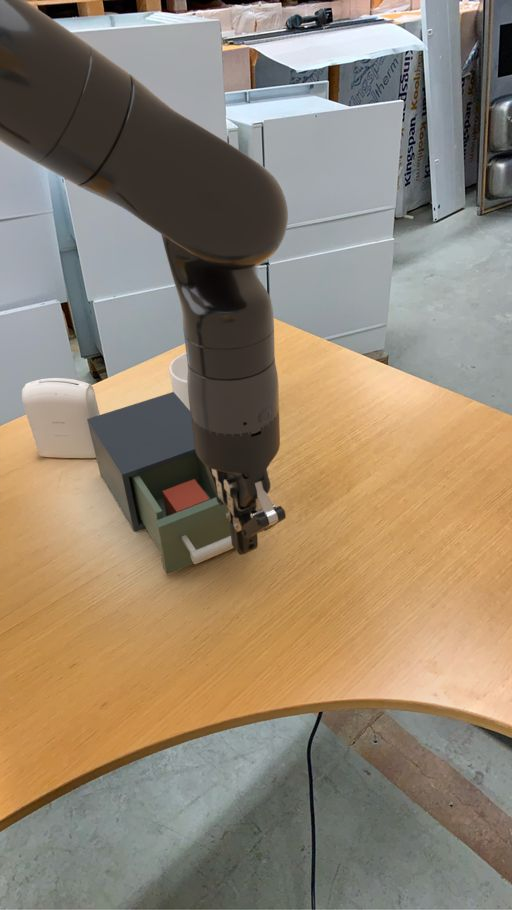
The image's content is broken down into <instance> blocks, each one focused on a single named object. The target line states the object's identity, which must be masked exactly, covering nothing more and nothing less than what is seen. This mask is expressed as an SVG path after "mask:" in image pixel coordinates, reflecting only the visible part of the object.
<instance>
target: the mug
mask: <svg viewBox="0 0 512 910" xmlns="http://www.w3.org/2000/svg"><path fill="white" fill-rule="evenodd" d="M168 373H169V378H170V384H171V389H172V392H174V393H175V394H176V395H177V396H178V398H179V399H180V400H181V401H182V402H183V403H184V405H185V406H186V407H187V408H188V409H189V410H190V405H189V397H188V388H187V376H188V364H187V354H186V352H184V353H182V354H179V355H178V356H176V357H175V358H174V359H173V360H172V361H170V364H169V367H168Z"/></svg>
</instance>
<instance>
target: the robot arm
mask: <svg viewBox="0 0 512 910" xmlns="http://www.w3.org/2000/svg"><path fill="white" fill-rule="evenodd" d="M0 142H1V143H2V144H4V145H5V146H7V147H8V148H11V149H12V150H14V151H15V152H17V153H19V154H20V155H22V156H24V157H26V158H27V159H29V160H31V161H33V162H35V163H36V164H38V165H40V166H42V167H43V168H45V169H47V170H49V171H50V172H53V174H55V175H58V176H59V177H61V178H63V179H65V180H66V181H69V182H70V183H72V184H73V185H76V187H77V186H78V187H79V188H81V189H83V190H85V191H86V192H89V193H91V194H93V195H96V196H98V197H100V198H102V199H104V200H107V201H108V202H110V203H112V204H115V205H116V206H119V207H121V208H122V209H124V210H126V211H127V212H128V213H130V214H131V215H133V216H134V217H136V218H137V219H138V220H140V221H142V222H143V223H145V224H146V225H147V226H148V227H150V228H151V229H153V230H155V231H156V232H158V233H159V234H160V235H161V240H162V243H163V248H164V250H165V254H166V258H167V262H168V266H169V269H170V273H171V277H172V280H173V283H174V287H175V289H176V292H177V296H178V299H179V303H180V307H181V312H182V327H183V329H182V330H183V336H184V337H183V339H184V344H185V345H184V346H185V353H186V354H187V364H188V376H187V388H188V397H189V405H190V413H191V421H192V429H193V437H194V445H195V451H196V454H197V456H198V458H199V459H200V460H201V461H202V462H203V463H204V465H205V467H206V470H207V473H208V476H209V479H210V481H211V484H212V487H213V490H214V493H215V495H216V499H217V502H218V503H219V505H221V506H222V505H224V509H225V516H226V518H227V519H228V520H229V521H230V531H231V542H232V546H233V547H234V548H233V549H234V550H235V551H236V553H237V554H238V555H239V556H242V555H246V554H248V553H250V552H252V551H254V550H257V548H258V546H259V542H258V534H260V533H263V532H266V531H269V530H270V529H272V528H273V527H275V526H276V525H278V524H279V523H281V522H282V521H284V520H286V517H287V516H286V511H285V509H284V508H283V507H282V506H281V505H279V506H277V505H276V504H274V503H273V504H272V502H271V500H270V497H269V495H268V494H269V493H270V491H271V480H270V477H269V472H268V468H269V466H270V464H271V463H272V461H273V460H274V458H276V456H277V454H278V452H279V450H280V446H281V431H280V425H281V424H280V391H279V389H280V386H279V376H278V375H279V374H278V369H277V363H276V352H275V349H276V348H275V346H276V345H275V321H274V319H275V318H274V309H273V303H272V302H273V301H272V299H271V296H270V293H268V291H267V289H266V288H265V286H264V285H263V283H262V282H261V281H260V279H259V277H258V275H257V273H256V270H255V267H257V266H260V265H262V264H263V263H264V262H266V261H267V260H269V259H270V258H271V257H272V256H273V255H274V254H275V253H276V252H277V251H278V249H279V248H280V246H281V245H282V242H283V240H284V238H285V235H286V232H287V230H288V229H287V228H288V222H289V221H288V220H289V211H288V204H287V200H286V196H285V194H284V192H283V189H282V187H281V185H280V183H279V181H278V180H277V179H276V178H275V177H274V175H273V174H272V173H271V172H270V171H269V170H268V168H266V167H265V166H263V165H262V164H261V163H259V162H258V161H256V160H255V159H254V158H252V157H250V156H249V155H247V154H246V153H244V152H243V151H241V150H239V149H238V148H236V147H235V146H234V145H232V144H231V143H229V142H227V141H225V140H224V139H223V138H220V137H219V136H217V135H216V134H214V133H212V132H211V131H209V130H208V129H206V128H204V127H203V126H201V125H199V124H197V123H196V122H194V121H193V120H191V119H189V118H187V117H185V116H184V115H182V114H181V113H179V112H178V111H176V110H174V109H173V108H172V107H170V106H169V105H168V104H167V103H166V102H164V101H163V100H162V99H161V98H160V97H158V96H157V95H156V94H155V93H154V92H153V91H151V90H150V89H149V88H147V86H145V84H144V83H142V82H141V81H139V80H138V79H137V78H135V76H133V75H132V74H130V73H129V72H128V71H126V70H125V69H124V68H122V67H121V66H119V65H118V64H117V63H115V62H114V61H112V60H111V59H109V58H108V57H107V56H105V55H104V54H102V52H100V51H99V50H97V49H95V48H94V47H93V46H92V45H90V44H89V43H88V42H86V41H85V40H83V39H82V38H81V37H79V36H77V35H76V34H75V33H73V32H72V31H70V30H68V29H67V27H64V26H63V25H62V24H60V23H58V22H57V21H56V20H55V19H53V18H52V17H50V16H48V15H47V14H46V13H44V12H43V11H41V10H40V9H39V8H36V7H35V6H34V5H32V4H31V3H29V2H28V1H26V0H0Z"/></svg>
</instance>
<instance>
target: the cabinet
mask: <svg viewBox="0 0 512 910" xmlns="http://www.w3.org/2000/svg"><path fill="white" fill-rule="evenodd" d="M87 421H88V425H89V430H90V434H91V438H92V442H93V446H94V451H95V455H96V458H95V459H96V464H97V467H98V470H99V474H100V476H101V478H102V480H103V481H104V483H105V485H106V487H107V488H108V490H109V492H110V493H111V495H112V497H113V499H114V500H115V502H116V504H117V506H118V507H119V509H120V511H121V512H122V514H123V516H124V517H125V519H126V520H127V522H128V525H129V526H130V528H131V529H132V531H133V532H134V533H135V532H138V531H140V530H142V529H146V527H145V525H144V524H143V522H142V520H141V519H140V517H139V516H138V514H137V512H136V509H135V504H134V499H133V495H132V490H131V485H130V480H129V477H131V476H134V475H137V474H140V473H142V472H145V471H148V470H151V469H153V468H156V467H159V466H162V465H165V464H167V463H170V462H173V461H176V460H179V459H181V458H184V457H187V456H190V455H193V454H195V453H196V451H195V445H194V437H193V429H192V421H191V413H190V410H189V409H188V408H187V407H186V406H185V405H184V403H183V402H182V401H181V400H180V399H179V398H178V396H177V395H176V394H175V393H174V392H173V391H172V392H168V393H165V394H162V395H159V396H156V397H152V398H150V399H149V398H148V399H146V400H143V401H140V402H136V403H134V404H130V405H127V406H124V407H121V408H118V409H117V408H116V409H115V410H111V411H108V412H105V413H102V414H100V415H98V416H95V417H92V418H89V419H87Z"/></svg>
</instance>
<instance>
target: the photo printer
mask: <svg viewBox="0 0 512 910" xmlns="http://www.w3.org/2000/svg"><path fill="white" fill-rule="evenodd" d="M21 400H22V405H23V408H24V413H25V415H26V418H27V422H28V423H29V424H28V425H29V427H30V430H31V434H32V437H33V439H34V442H35V445H36V449H37V451H38V454H39V455H40V456H41V457H44V458H60V459H62V458H63V459H68V458H69V459H96V455H95V451H94V446H93V442H92V438H91V434H90V430H89V425H88V421H87V419H89V418H92V417H95V416H98V415H101V414H100V410H99V406H98V401H97V396H96V393H95V389H94V387H93V385H92V384H91V383H88V382H85V381H82V380H77V379H72V378H64V377H48V378H41V379H36V380H32V381H29V382H27V383H25V384H24V386H23V388H22V390H21Z"/></svg>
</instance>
